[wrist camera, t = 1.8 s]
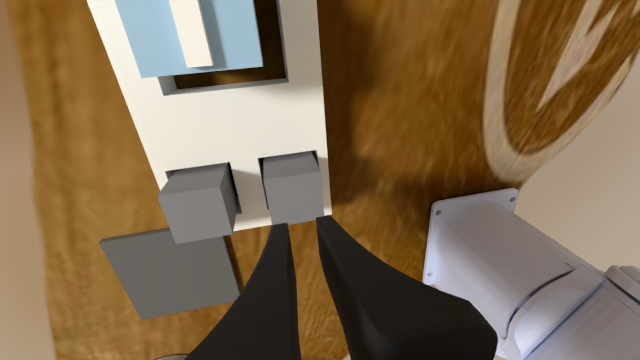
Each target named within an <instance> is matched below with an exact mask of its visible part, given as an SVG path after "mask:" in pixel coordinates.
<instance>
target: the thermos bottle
mask: <svg viewBox="0 0 640 360" xmlns="http://www.w3.org/2000/svg"><path fill="white" fill-rule="evenodd" d="M187 356H188V355H171V356H166V357H162V358H158V359H155V360H184V359H185V358H186V357H187Z"/></svg>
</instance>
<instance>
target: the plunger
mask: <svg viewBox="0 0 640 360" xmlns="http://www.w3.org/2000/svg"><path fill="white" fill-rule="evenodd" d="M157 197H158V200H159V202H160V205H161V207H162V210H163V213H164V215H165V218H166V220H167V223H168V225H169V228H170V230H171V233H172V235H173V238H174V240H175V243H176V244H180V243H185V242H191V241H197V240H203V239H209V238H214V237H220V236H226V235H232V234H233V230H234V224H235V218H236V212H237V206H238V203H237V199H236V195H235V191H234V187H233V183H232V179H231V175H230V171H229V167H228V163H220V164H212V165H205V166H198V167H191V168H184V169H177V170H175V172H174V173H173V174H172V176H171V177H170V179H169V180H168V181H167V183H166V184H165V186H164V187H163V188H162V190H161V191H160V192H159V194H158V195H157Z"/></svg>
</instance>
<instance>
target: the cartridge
mask: <svg viewBox="0 0 640 360" xmlns="http://www.w3.org/2000/svg"><path fill="white" fill-rule="evenodd" d="M115 3H116V6H117V9H118V12H119V15H120V17H121V20H122V23H123V26H124V29H125V32H126V35H127V38H128V40H129V43H130V46H131V49H132V52H133V55H134V58H135V60H136V63H137V66H138V69H139V72H140V75H141V78H149V77H160V76H170V75H180V74H191V73H201V72H211V71H222V70H232V69H243V68H253V67H263V56H262V49H261V43H260V37H259V30H258V24H257V18H256V11H255V5H254V0H115Z"/></svg>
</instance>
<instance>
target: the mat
mask: <svg viewBox="0 0 640 360" xmlns="http://www.w3.org/2000/svg"><path fill="white" fill-rule="evenodd" d="M99 244H100V246H101V247H102V249H103V251H104V253H105V255H106V256H107V258H108V260H109V262H110V264H111V265H112V267H113V269H114V271H115V273H116V274H117V276H118V278H119V280H120V282H121V283H122V285H123V287H124V289H125V291H126V292H127V294H128V296H129V298H130V300H131V301H132V303H133V305H134V307H135V309H136V310H137V312H138V314H139V316H140V318H141V319H142V320H144V319H149V318H154V317H159V316H163V315H168V314H173V313H178V312H183V311H188V310H193V309H198V308H203V307H208V306H212V305H217V304H222V303H227V302H232V301H235V300H236V299H237V297H238V296H239V295H240V293H241V292H240V289H239V286H238V282H237V279H236V275H235V272H234V269H233V265H232V262H231V258H230V255H229V252H228V248H227V245H226V241H225V238H224V236H220V237H214V238H209V239H203V240H197V241H191V242H185V243H180V244H176V243H175V240H174V238H173V235H172V233H171V230H170V228H167V229H161V230H155V231H149V232H142V233H136V234H130V235H124V236H118V237H112V238H106V239H102V240H101V241H100V242H99Z"/></svg>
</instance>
